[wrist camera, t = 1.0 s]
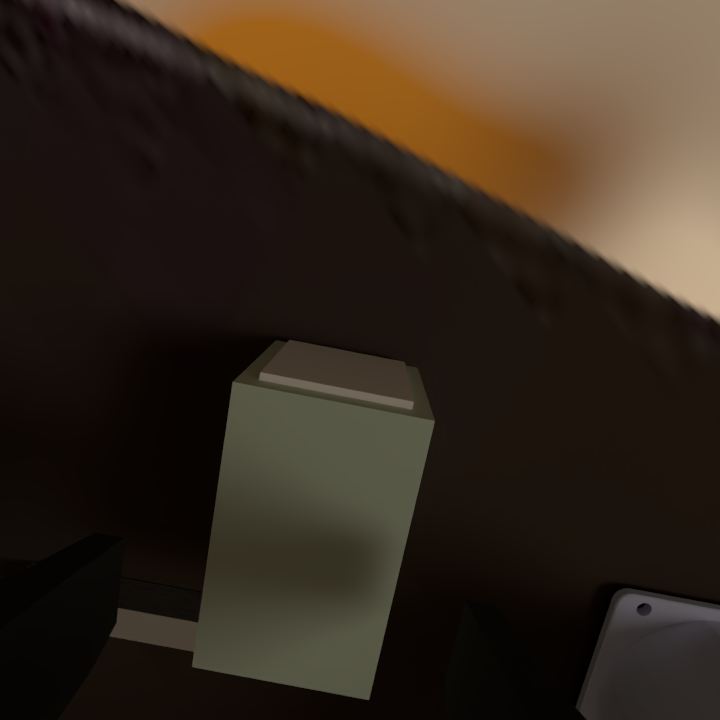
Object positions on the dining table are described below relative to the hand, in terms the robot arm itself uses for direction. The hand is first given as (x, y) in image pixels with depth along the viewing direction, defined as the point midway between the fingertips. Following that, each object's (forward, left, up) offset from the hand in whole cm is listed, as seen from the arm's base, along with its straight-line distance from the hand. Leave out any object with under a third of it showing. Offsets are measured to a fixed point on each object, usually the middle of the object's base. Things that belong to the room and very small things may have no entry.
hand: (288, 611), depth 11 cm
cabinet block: (0, 0, -8) cm, 8 cm away
